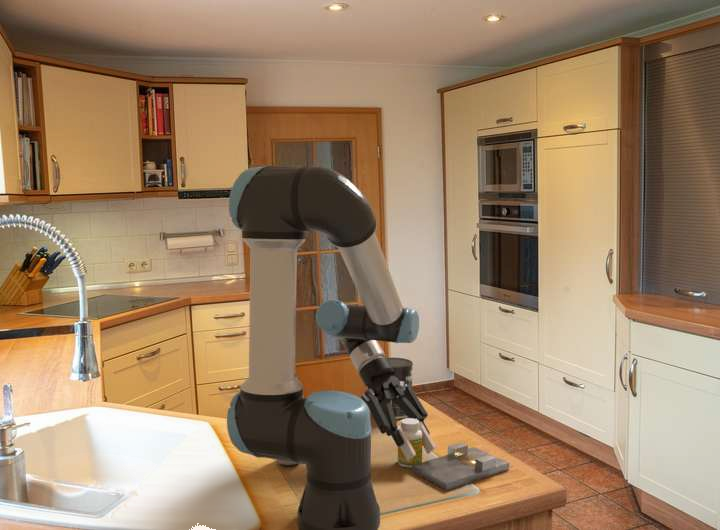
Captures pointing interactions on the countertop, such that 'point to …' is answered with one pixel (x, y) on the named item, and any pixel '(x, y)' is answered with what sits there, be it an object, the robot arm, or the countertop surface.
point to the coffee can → (401, 379)
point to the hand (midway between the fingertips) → (421, 453)
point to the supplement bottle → (411, 442)
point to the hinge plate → (460, 466)
